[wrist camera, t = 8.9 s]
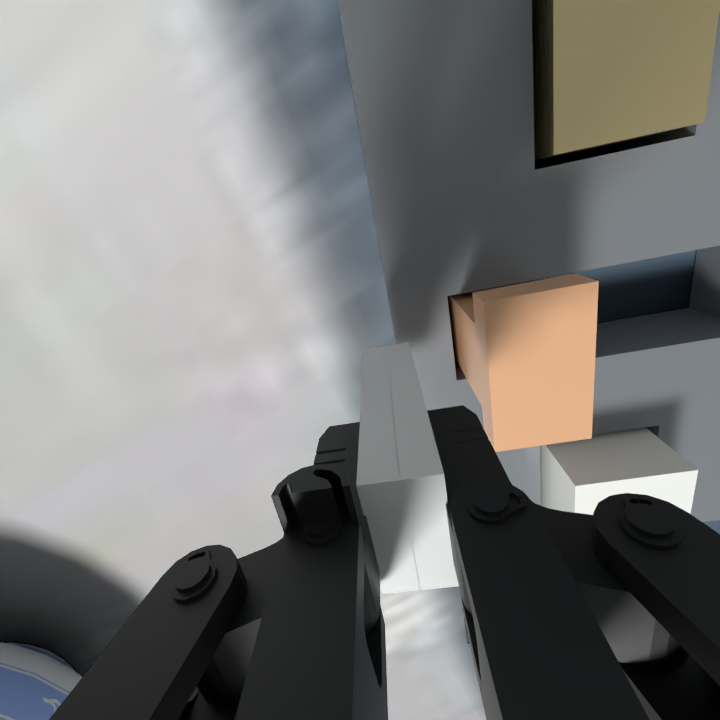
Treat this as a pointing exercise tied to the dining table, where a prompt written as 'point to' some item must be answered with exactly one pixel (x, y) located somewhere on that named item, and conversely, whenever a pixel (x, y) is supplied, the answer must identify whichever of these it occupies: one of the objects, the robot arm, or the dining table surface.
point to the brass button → (618, 70)
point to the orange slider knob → (530, 358)
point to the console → (532, 217)
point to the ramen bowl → (32, 682)
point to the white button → (614, 471)
